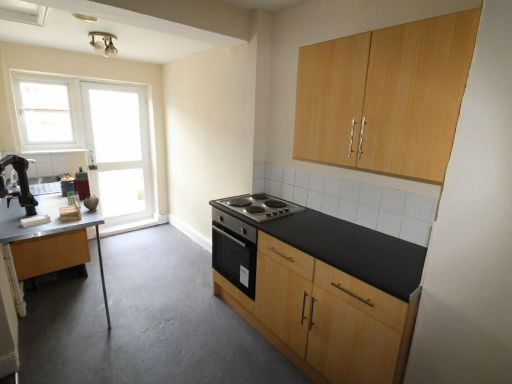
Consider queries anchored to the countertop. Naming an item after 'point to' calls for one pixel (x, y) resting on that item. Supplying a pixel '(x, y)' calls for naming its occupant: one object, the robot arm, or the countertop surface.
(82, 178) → the dark red tall piece
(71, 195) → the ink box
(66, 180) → the canister
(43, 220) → the white long block
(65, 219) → the wooden crate
